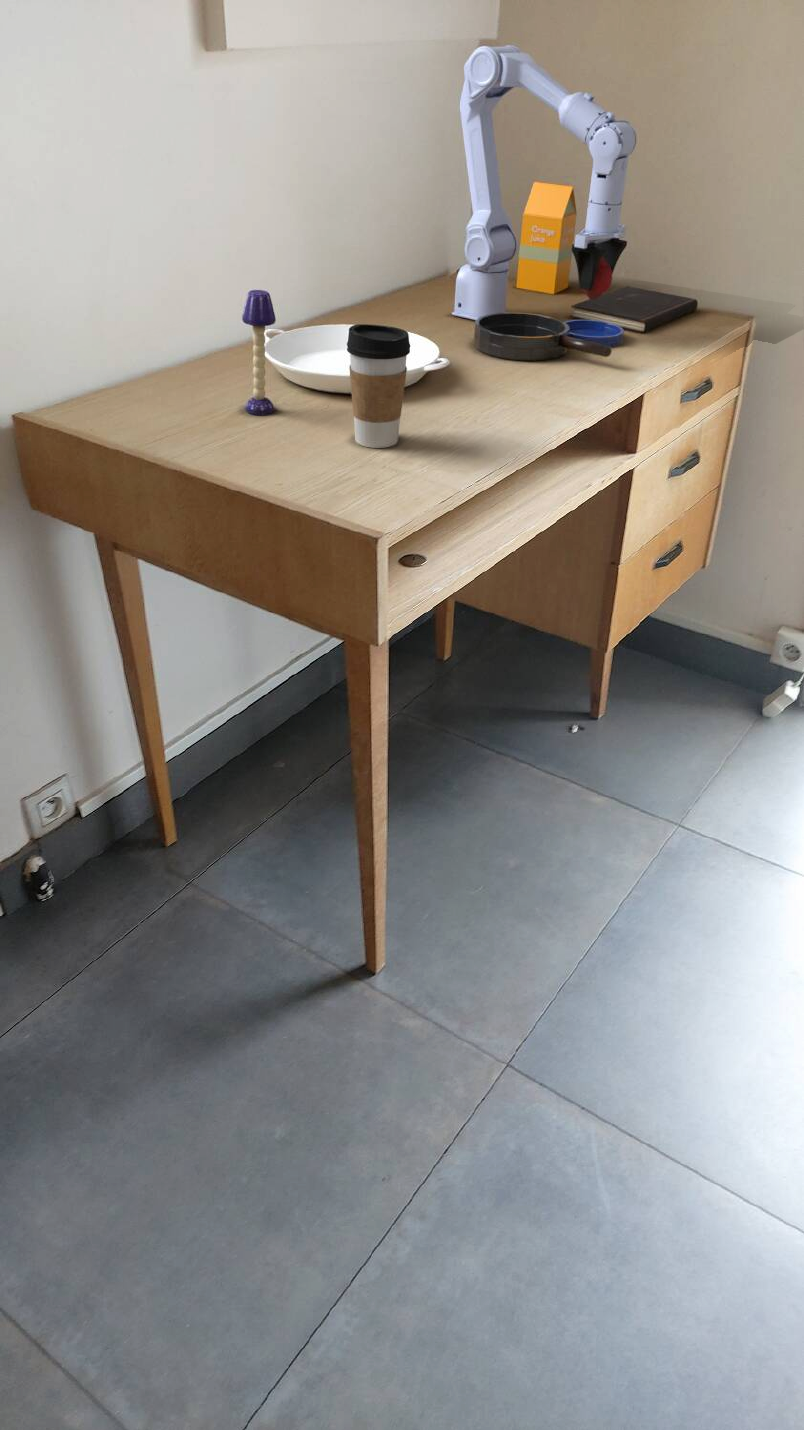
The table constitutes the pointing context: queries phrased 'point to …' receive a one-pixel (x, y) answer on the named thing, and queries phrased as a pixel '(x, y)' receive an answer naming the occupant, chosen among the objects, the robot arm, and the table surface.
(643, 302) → the hardcover book
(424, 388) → the table surface
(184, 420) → the table surface
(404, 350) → the coffee cup
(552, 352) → the frying pan
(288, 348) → the pan
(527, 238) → the orange juice
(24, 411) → the table surface
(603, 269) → the onion
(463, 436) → the table surface
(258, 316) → the toy lamp
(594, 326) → the saucer
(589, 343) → the pan handle
